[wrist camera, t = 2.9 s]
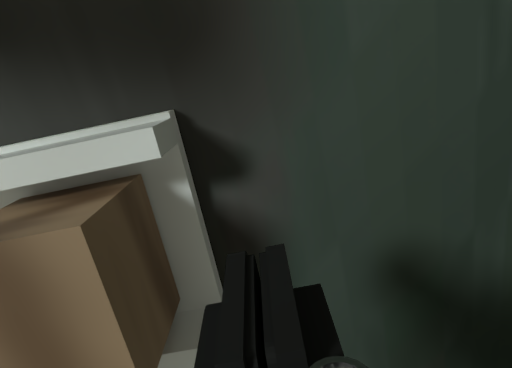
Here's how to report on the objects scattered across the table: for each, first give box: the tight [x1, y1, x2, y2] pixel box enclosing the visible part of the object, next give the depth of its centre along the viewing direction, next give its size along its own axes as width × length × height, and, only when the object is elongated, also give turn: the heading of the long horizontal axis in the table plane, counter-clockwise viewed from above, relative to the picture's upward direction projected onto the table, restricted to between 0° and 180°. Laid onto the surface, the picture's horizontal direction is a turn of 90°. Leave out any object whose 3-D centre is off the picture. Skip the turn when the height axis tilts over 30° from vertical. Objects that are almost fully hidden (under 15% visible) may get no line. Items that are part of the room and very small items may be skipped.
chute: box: [0, 109, 223, 368], centre depth 17 cm, size 20×12×4 cm, turn 102°
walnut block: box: [0, 174, 180, 368], centre depth 15 cm, size 6×7×6 cm
